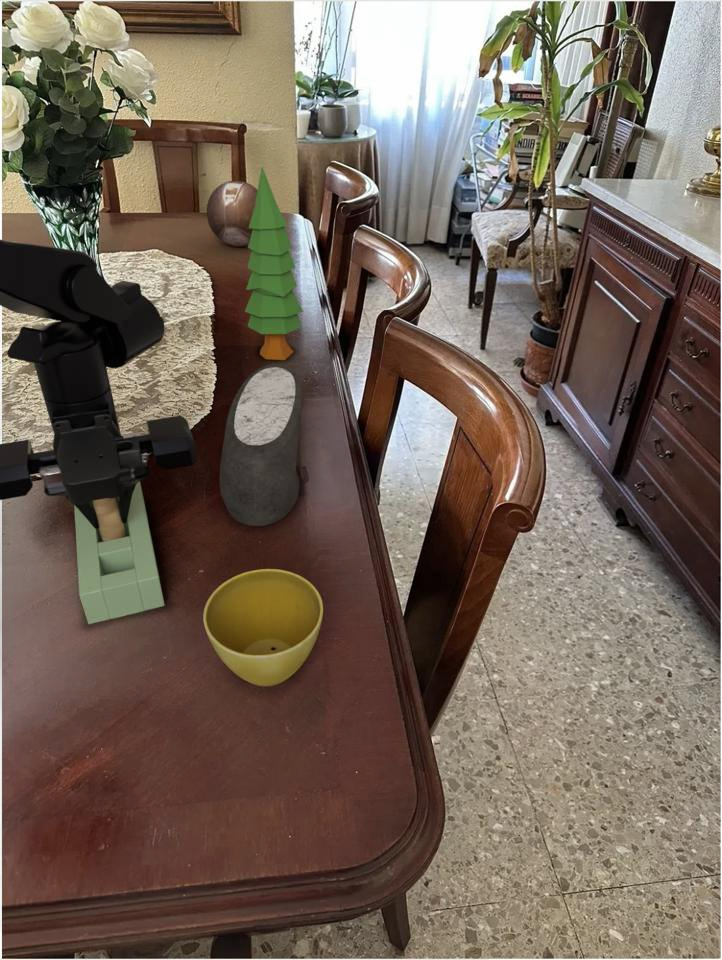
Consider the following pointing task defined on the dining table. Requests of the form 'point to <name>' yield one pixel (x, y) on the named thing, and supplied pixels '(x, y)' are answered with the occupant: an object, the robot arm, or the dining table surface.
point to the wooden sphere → (232, 212)
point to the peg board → (117, 567)
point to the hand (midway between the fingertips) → (110, 523)
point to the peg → (109, 518)
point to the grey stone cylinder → (262, 447)
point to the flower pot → (264, 624)
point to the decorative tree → (271, 276)
